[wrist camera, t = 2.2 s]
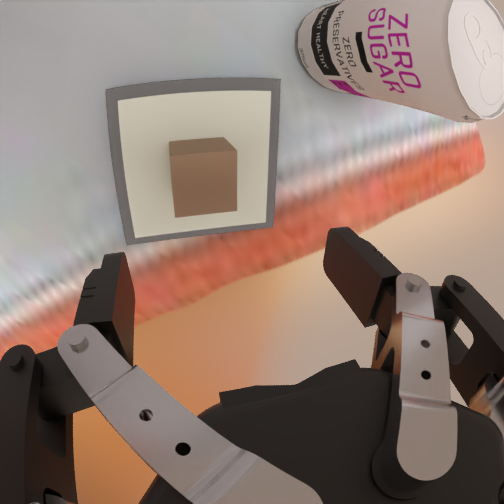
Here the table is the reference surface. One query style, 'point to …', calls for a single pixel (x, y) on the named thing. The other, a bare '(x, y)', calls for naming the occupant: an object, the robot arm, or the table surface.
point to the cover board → (192, 123)
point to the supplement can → (410, 54)
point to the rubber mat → (182, 87)
